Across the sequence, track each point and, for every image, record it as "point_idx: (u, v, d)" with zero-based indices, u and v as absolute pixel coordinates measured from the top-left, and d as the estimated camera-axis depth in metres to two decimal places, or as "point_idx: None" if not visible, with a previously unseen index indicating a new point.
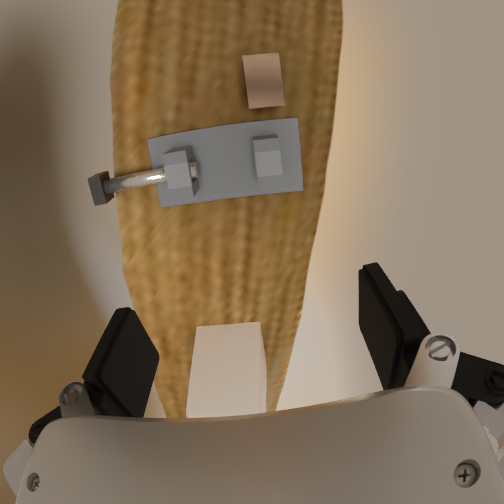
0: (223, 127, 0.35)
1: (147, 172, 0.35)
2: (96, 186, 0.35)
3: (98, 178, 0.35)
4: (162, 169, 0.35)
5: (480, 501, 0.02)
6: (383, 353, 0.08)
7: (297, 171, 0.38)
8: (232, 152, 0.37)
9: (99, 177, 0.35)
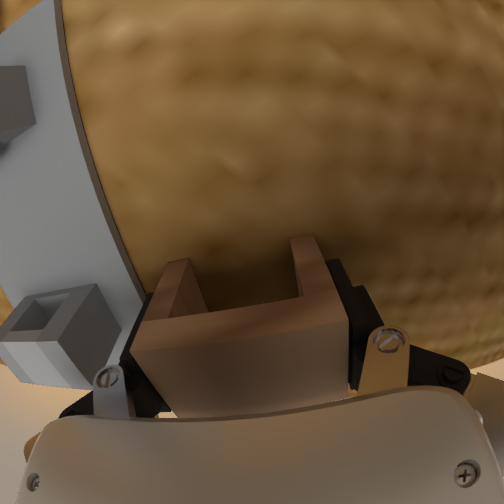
0: (93, 204, 0.11)
1: None
2: None
3: None
4: None
5: (480, 501, 0.02)
6: None
7: None
8: (47, 239, 0.11)
9: None
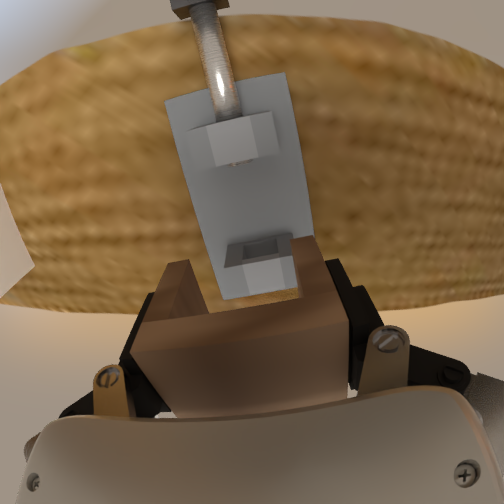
0: (304, 191, 0.25)
1: (231, 79, 0.18)
2: None
3: None
4: (238, 106, 0.19)
5: (480, 501, 0.02)
6: None
7: None
8: (266, 207, 0.26)
9: None
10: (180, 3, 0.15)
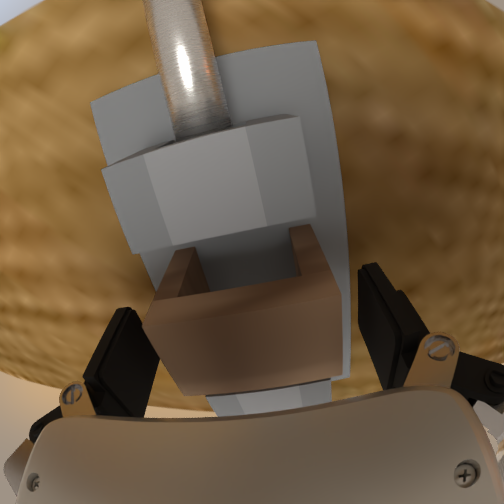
0: (342, 262, 0.14)
1: (205, 46, 0.08)
2: None
3: None
4: (221, 104, 0.09)
5: (480, 501, 0.02)
6: (382, 352, 0.08)
7: None
8: None
9: None
10: None
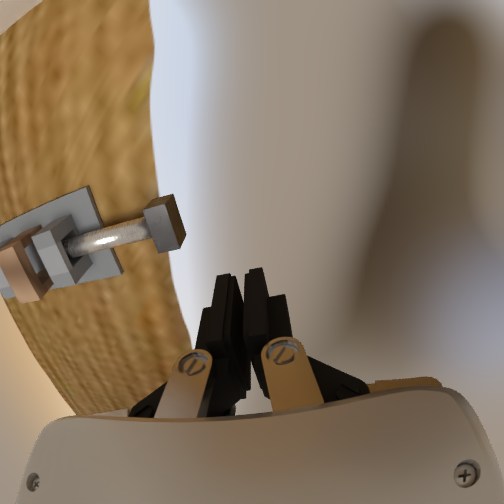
0: None
1: (95, 251, 0.25)
2: (162, 237, 0.23)
3: (159, 250, 0.24)
4: (80, 255, 0.25)
5: (480, 501, 0.02)
6: None
7: None
8: (39, 262, 0.28)
9: (157, 250, 0.24)
10: (149, 216, 0.23)
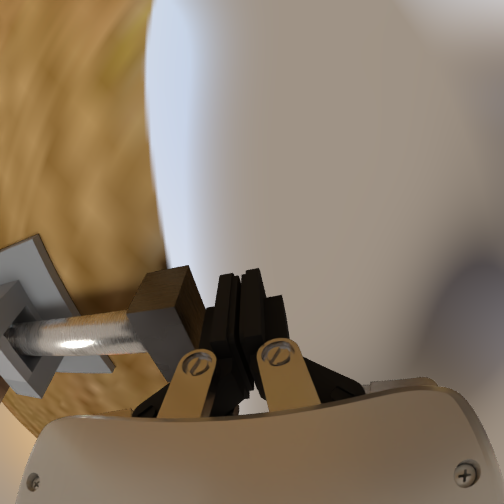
0: None
1: None
2: (173, 360, 0.11)
3: (169, 378, 0.12)
4: None
5: (480, 501, 0.02)
6: None
7: None
8: None
9: (165, 377, 0.12)
10: (141, 326, 0.10)
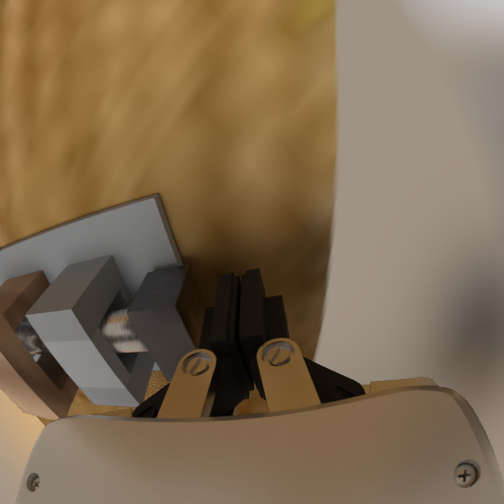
0: None
1: None
2: (173, 359, 0.11)
3: (169, 376, 0.12)
4: None
5: (480, 501, 0.02)
6: None
7: None
8: None
9: (165, 376, 0.12)
10: (142, 325, 0.10)
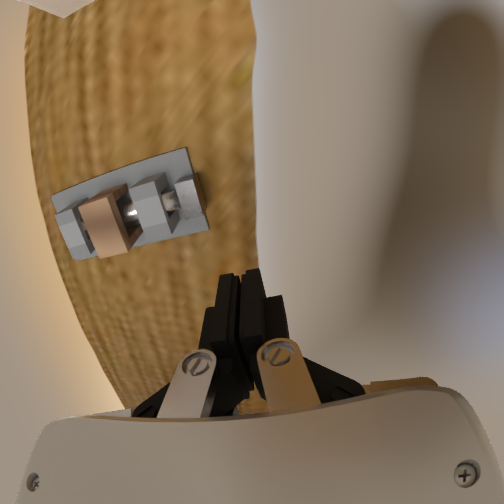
0: None
1: (129, 221, 0.31)
2: (189, 206, 0.30)
3: (186, 217, 0.30)
4: None
5: (480, 501, 0.02)
6: None
7: None
8: None
9: (184, 217, 0.30)
10: (179, 189, 0.29)
